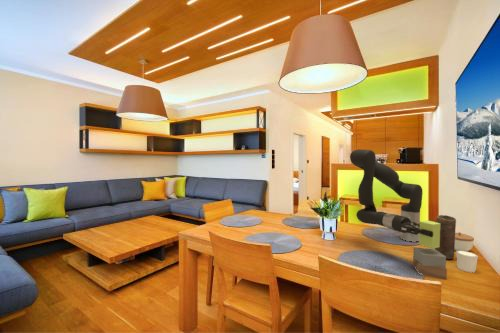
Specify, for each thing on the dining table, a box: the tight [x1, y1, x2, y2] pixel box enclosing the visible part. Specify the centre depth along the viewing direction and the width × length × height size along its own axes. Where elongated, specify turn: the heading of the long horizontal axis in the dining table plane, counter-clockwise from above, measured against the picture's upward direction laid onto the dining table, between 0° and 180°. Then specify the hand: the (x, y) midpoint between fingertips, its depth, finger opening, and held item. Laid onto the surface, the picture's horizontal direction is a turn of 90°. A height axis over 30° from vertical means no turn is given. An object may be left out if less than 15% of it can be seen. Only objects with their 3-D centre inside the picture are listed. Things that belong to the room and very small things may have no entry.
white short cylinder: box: [455, 251, 479, 273], centre depth 98 cm, size 7×7×7 cm
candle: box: [434, 214, 457, 260], centre depth 109 cm, size 8×7×20 cm
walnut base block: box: [412, 256, 448, 280], centre depth 95 cm, size 9×9×4 cm
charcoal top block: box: [412, 246, 447, 269], centre depth 95 cm, size 8×8×4 cm
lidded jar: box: [454, 231, 475, 252], centre depth 118 cm, size 11×11×9 cm
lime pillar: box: [418, 220, 440, 249], centre depth 95 cm, size 5×5×10 cm
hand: (436, 233), depth 92 cm, fingers closed on lime pillar, 5 cm apart
